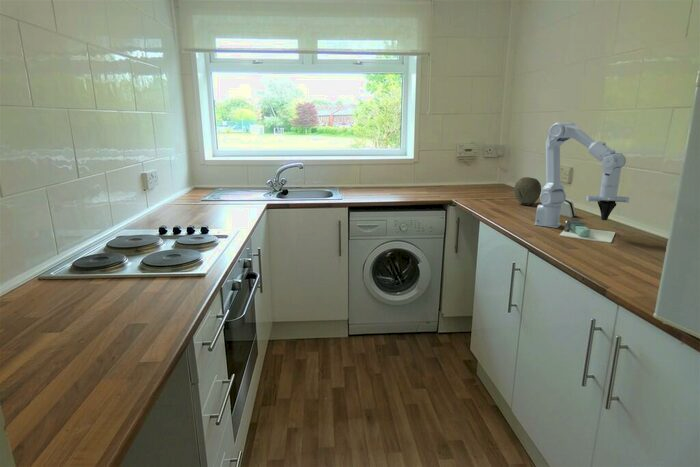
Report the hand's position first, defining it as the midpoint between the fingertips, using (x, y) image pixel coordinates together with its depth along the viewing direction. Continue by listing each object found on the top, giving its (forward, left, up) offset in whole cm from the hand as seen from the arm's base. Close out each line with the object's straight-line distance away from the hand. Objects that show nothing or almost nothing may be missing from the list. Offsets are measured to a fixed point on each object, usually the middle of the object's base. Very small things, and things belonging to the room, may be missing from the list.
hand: (604, 219), depth 166 cm
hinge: (-23, +38, -8) cm, 45 cm away
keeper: (-10, +2, -7) cm, 12 cm away
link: (-9, +2, -6) cm, 11 cm away
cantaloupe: (-42, +55, -8) cm, 70 cm away
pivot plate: (-5, +2, -7) cm, 9 cm away
